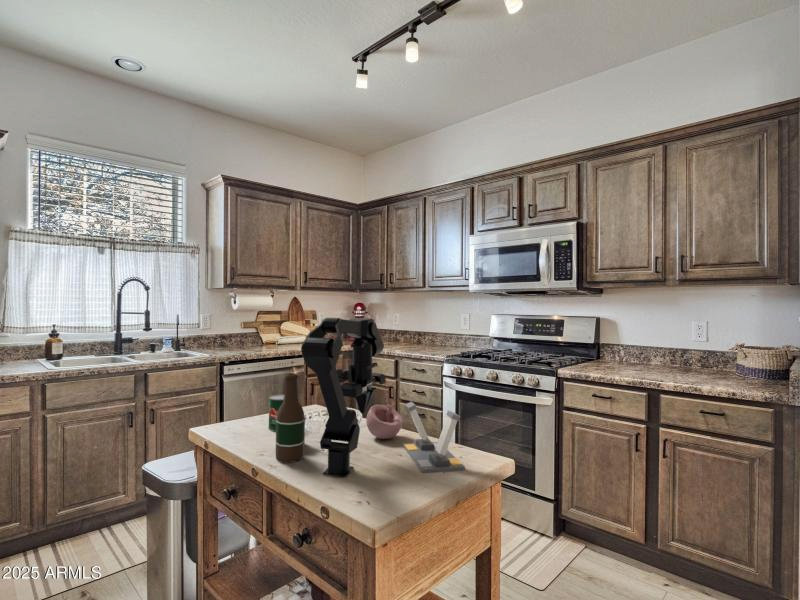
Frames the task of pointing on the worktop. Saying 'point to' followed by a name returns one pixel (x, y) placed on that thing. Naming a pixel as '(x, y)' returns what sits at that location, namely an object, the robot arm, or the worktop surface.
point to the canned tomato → (274, 410)
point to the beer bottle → (290, 424)
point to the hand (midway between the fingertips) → (362, 412)
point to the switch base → (426, 457)
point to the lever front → (446, 434)
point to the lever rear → (417, 421)
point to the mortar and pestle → (383, 421)
